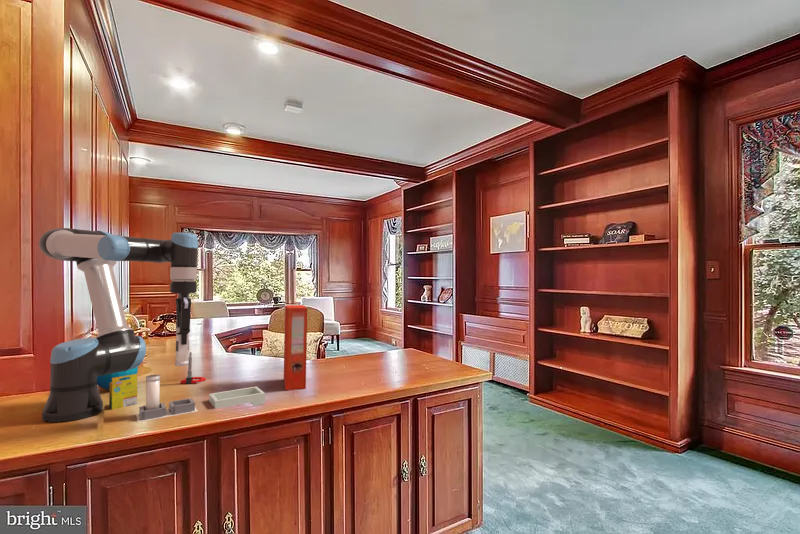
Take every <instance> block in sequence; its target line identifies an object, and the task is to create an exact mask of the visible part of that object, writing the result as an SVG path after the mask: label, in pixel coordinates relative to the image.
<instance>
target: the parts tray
mask: <svg viewBox="0 0 800 534" xmlns="http://www.w3.org/2000/svg"><path fill="white" fill-rule="evenodd" d="M208 401H209V403H210V404H211V405H212V407H213V408H214V409H220V408H225V407H231V406H232V407H233V406H238V405H245V404H249V403H250V404H251V405H253V407H255V406H256V407H257V406H260V405H261V404H262V405H265V404H266V393H265V392H264V391H263V390H262V389H260V388H259V387H258V386H257V385H256V386H251V387H244V388H238V389H232V390H225V391H220V392H213V393H209V394H208ZM262 405H261V406H262Z"/></svg>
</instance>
